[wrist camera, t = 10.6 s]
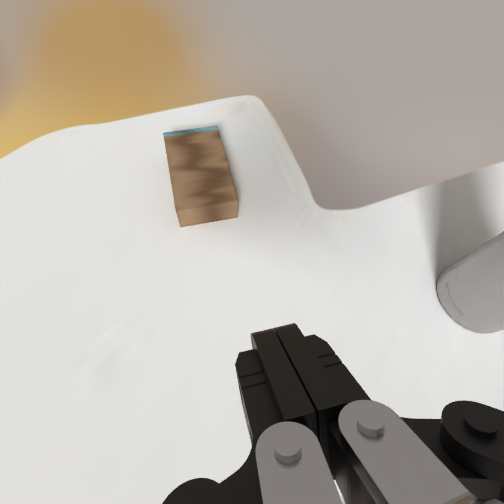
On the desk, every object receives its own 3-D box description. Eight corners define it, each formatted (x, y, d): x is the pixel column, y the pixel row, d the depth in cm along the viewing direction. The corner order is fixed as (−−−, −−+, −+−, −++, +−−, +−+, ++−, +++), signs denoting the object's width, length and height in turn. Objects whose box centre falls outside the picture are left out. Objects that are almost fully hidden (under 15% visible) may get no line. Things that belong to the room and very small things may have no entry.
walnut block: (237, 217, 44) (218, 146, 50) (237, 200, 40) (217, 125, 46) (180, 227, 42) (168, 153, 48) (175, 211, 39) (163, 132, 45)
